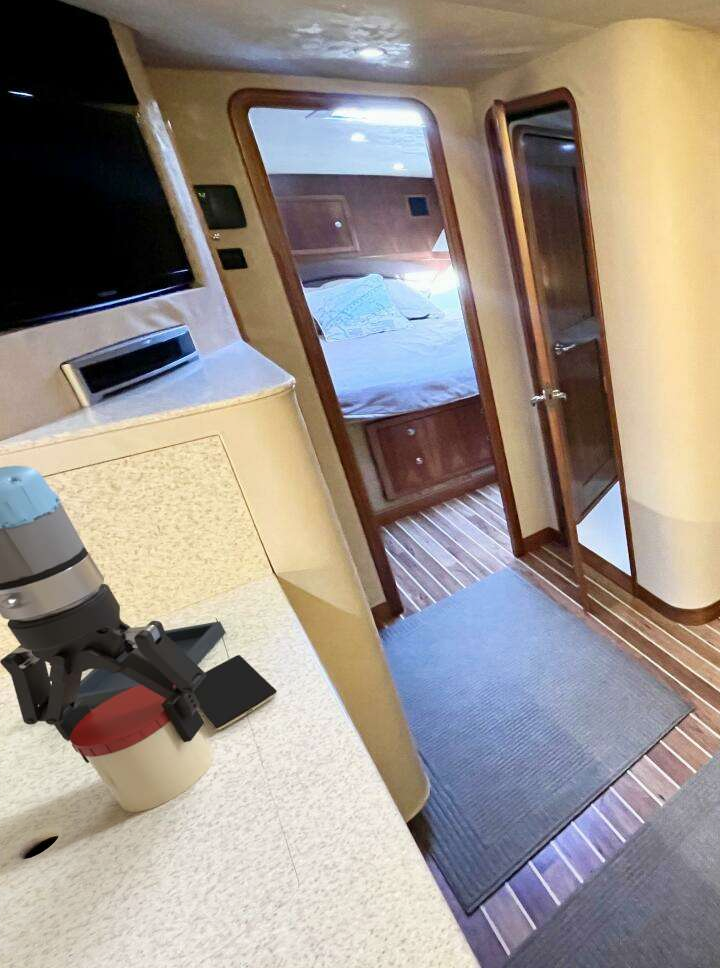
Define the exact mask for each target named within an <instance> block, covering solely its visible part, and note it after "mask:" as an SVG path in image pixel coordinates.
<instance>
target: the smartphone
mask: <svg viewBox="0 0 720 968" xmlns="http://www.w3.org/2000/svg"><path fill="white" fill-rule="evenodd" d="M204 672H205V674H206V676H205V678H204V679H203V680H202V681H201V683H200V684H199V685H198V686H197V687H196V689H195V690H194V691H193V692H194V694H195V696H196V698H197V700H198V701H199V707H198V710H199V711H200V712H201V714H202V715H203V716H204V717H205V718H206V719H207V720H208V722H209V723H210V725H212V727H213V728H214V729H215V730H216V731H220V730H222V729H224V728H226V727H227V726H229V725H231V724H233V723H235V722H236V721H238V720H240V719H242V718H243V717H245V716H247V715H248V714H250V713H252V712H253V711H254V710H256V709H258V708H259V707H261V706H263V705H264V704H265V703H267V702H268V701H270V700H271V699H273V698H274V697H275V696H277V695H278V691H277V689H276V688H275V687H274V686H273V685H272V684H270V683H269V682H268V680H266V679H265V678H264V677H263V676H262V675H261V674H260V673H259V672H258V671H257V670H256V669H255V668H254V667H253V666H251V664H250V663H249V662H247V660H245V658H243V657H242V655H240V654H237V655H234V656H233V657H231V658H229V659H227V660H225V661H223V662H221V663H220V664H218V665H216V666H214V667H212V668H209V670H207V671H204Z"/></svg>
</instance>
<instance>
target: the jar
mask: <svg viewBox="0 0 720 968" xmlns="http://www.w3.org/2000/svg"><path fill="white" fill-rule="evenodd" d="M86 758H87V759H88V761H89V764H90V765H91V767H92V768H93V769H94V771H95V772H96V773H97V775H98V777H99V778H100V779H101V781H102V782H103V783H104V785H105V787H106V788H107V790H109V792H110V793H111V795H112V796H113V798H114V799H115V801H116V802H117V803H118V805H119V806H120V808H122V810H124V811H126V812H129V813H138V812H139V813H140V812H144V811H149V810H151V809H153V808H154V809H155V808H157V807H160V806H162V805H164V804H165V803H168V802H169V801H171V800H173V799H175V798H177V797H178V796H179V795H181V794H183V793H184V792H185V791H187V790H189V789H190V788H191V787H193V785H194V784H196V783H197V782H198V781H199V780H200V779H201V778H202V777H203V776H204V775H205V774H206V772H207V771H208V770H209V769H210V766H211V765H212V763H213V761H214V758H215V750H214V748H213V746H212V745H211V743H210V741H209V740H208V737H207V736H206V735H205V733H204V731H203V729H202V727H201V728H200V729H199V731H198V732H197V733H196V735H195V736H194V737H193V739H192V740H191V741H188V742H183V740H182V739H181V737H180V735H179V734H178V732H177V730H176V729H175V727H174V725H173V724H172V722H171V720H170V721H169V722H168V723H167V724H165V725H164V726H163V727H161V728H160V729H159V730H157V731H156V732H154V733H153V734H151V735H150V736H148V737H146V738H145V739H143V740H141V741H139V742H137V743H135V744H133V745H131V746H129V747H127V748H124V749H122V750H119V751H116V752H113V753H110V754H106V755H102V756H95V757H87V756H86Z"/></svg>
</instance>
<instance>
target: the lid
mask: <svg viewBox="0 0 720 968" xmlns="http://www.w3.org/2000/svg"><path fill="white" fill-rule="evenodd" d="M174 687H175V685H174V686H173V688H174ZM165 700H166V699H165V698H164V697H162V696H160V695H158V694H157V693H155V692H153V691H151V690H150V689H148V688H146V687H144V686H143V685H138V686H136V687H133V688H131V689H128V690H126V691H124V692H122V693H120V694H118V695H116V696H114V697H112V698H110V699H109V700H107V701H105V702H104V703H102V704H101V705H99V706H98V707H96V708H95V709H91V712H90V713H88V714H87V715H86V716H85V717H84V718H83V719H82V720H81V721H80V722H79V723H78V724H77V725H76V726H75V728H74V729H73V731H72V733H71V735H70V743H71V747H72V748H73V749H74V751H75V753H78V754H79V755H80V756H81V755H82V756H87V757H95V756H102V755H106V754H110V753H113V752H116V751H119V750H122V749H124V748H127V747H129V746H131V745H133V744H135V743H137V742H139V741H141V740H143V739H145V738H146V737H148V736H150V735H151V734H153V733H154V732H156V731H157V730H159V729H160V728H161V727H163V726H164V725H165V724H167V723H168V722H169V721H170V719H169V717H168V715H167V714H166V712H165V710H164V709H163V707H162V704H163V703H164V701H165ZM82 756H81V757H82Z"/></svg>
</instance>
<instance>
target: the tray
mask: <svg viewBox="0 0 720 968" xmlns="http://www.w3.org/2000/svg"><path fill="white" fill-rule="evenodd" d="M164 631H165V633H166V635H167V636H168V637H169V638H170V639H171V640H172V641H173V642H174V643H175V644H176V645H177V646H178V647H179V648H180V649H181V650H182V651H183V652H184V653H185V654H186V655H187V656H188V657H189V658H190V659H191V660H192V661H193V662H194V663H195V664H196V665H197V666H199V664H200V663H201V662H202V661H203V660H204V659H205V657H206V656H207V655H208V653H209V652H210V651H211V650H212V649H213V648H214V647H215V646H216V644H217V643H218V642H219V641H220V640H221V639H222V637H223V636H224V635H225V634H226V633H227V632H226V630H225V628H224V626H223V624H222V622H221V621H219V620H218V621H213V622H207V623H201V624H196V625H191V626H190V625H189V626H184V627H183V626H182V627H178V628H173V629H172V628H171V629H166V630H164ZM126 654H127V653H126V651H124V653H123V654H122V655H121V656H120V657H119V658H118V659H117V661H120V660H121V659H122V658H123V657H124V656H125V655H126ZM138 685H141V684H139V683H137V682H136V681H134V680H132V679H130V678H129V677H127V676H125V675H123V674H122V673H120V672H118V673H111V672H109V671H107V670H105V669H104V668H101V669H91V671H89V673H88V674H86V676H84V677H83V678H81V683H80V688H79V693H78V699H77V700H78V701H77V702H79V701H80V700H81V702H80V703H79V704H78V705H77V706H75V707H74V710H76V709H77V708H78V707H79V706H83V705H87V706H88V707H89V709H90V710H93V709H95V708H96V707H98V706H99V705H101V704H102V703H104V702H105V701H107V700H109V699H110V698H112V697H114V696H116V695H118V694H120V693H122V692H124V691H126V690H128V689H131V688H133V687H136V686H138Z"/></svg>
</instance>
